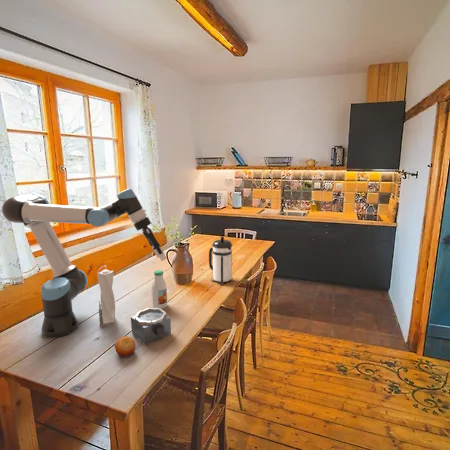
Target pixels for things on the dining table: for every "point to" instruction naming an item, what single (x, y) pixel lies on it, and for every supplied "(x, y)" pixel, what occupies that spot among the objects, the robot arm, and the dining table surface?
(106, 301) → the skyscraper
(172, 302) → the dining table surface
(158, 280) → the milk bottle
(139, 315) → the grey octagonal pot
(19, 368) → the dining table surface
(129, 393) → the dining table surface
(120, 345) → the fruit
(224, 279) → the coffee press
